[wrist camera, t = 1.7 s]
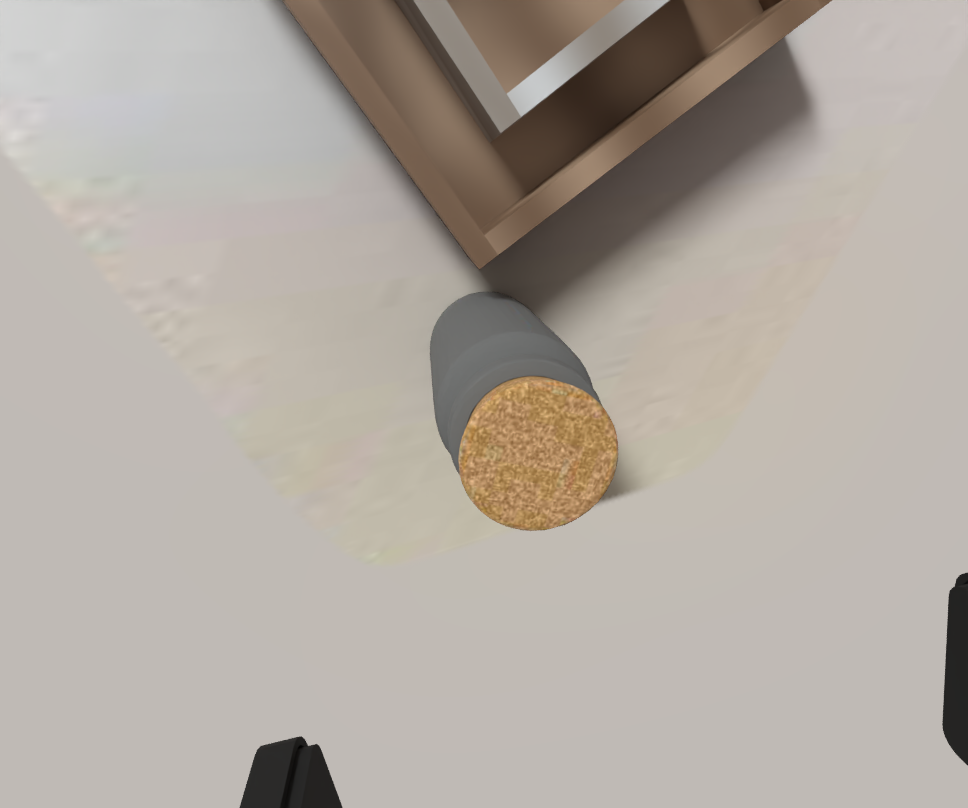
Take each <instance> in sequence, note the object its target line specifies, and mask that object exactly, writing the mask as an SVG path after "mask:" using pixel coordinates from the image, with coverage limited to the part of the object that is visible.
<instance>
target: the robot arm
mask: <svg viewBox="0 0 968 808" xmlns="http://www.w3.org/2000/svg"><path fill="white" fill-rule="evenodd" d="M943 731H944V734H945V737H946V739H947V741H948V743H949V745H950V746H951V748H952V749H953V751H954V752H955V753H956V754H957V755H958V756H959V757H960V758H961V759H962V760H963V761H964V762H965V763H966V764H967V765H968V573H965V574H961V575H960V576H959V577H958V578H957V579H956V584H955V587H953V588H952V589H951V590H950V593H949V604H948V625H947V644H946V666H945V685H944V705H943ZM240 808H342V805H341V802H340V800H339V797H338V794H337V791H336V789H335V786H334V784H333V781H332V778H331V775H330V773H329V770H328V767H327V764H326V762H325V759H324V757H323V754H322V751H321V749H320V747H319V745H317V744H315V745H311V746H308V745H307V743H306V741H305V739H304V738H303V737H296V738H292V739H288V740H283V741H280V742H275V743H271V744H268V745H263V746H261V747H260V748H259V749H258V750H257V752H256V754H255V757H254V760H253V764H252V767H251V771H250V774H249V777H248V781H247V784H246V788H245V791H244V795H243V798H242V802H241V805H240Z"/></svg>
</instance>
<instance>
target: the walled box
mask: <svg viewBox="0 0 968 808" xmlns="http://www.w3.org/2000/svg"><path fill="white" fill-rule="evenodd" d="M282 1H283V3H284V4H285V5H286V7H287V8H288V9H289V11H290V12H291V14H292V15H293V16H294V18H295V19H296V20H297V22H298V23H299V25H300V26H301V27H302V29H303V30H304V31H305V33H306V34H307V36H308V37H309V38H310V40H311V41H312V42H313V44H314V45H315V47H316V48H317V49H318V51H319V52H320V53H321V55H322V56H323V58H324V59H325V60H326V62H327V63H328V64H329V66H330V67H331V69H332V70H333V71H334V73H335V74H336V75H337V77H338V78H339V80H340V81H341V82H342V84H343V85H344V86H345V88H346V89H347V91H348V92H349V93H350V95H351V96H352V97H353V99H354V100H355V102H356V103H357V104H358V106H359V107H360V109H361V110H362V111H363V113H364V114H365V115H366V117H367V118H368V120H369V121H370V122H371V124H372V125H373V126H374V128H375V129H376V131H377V132H378V133H379V135H380V136H381V137H382V139H383V140H384V142H385V143H386V144H387V146H388V147H389V148H390V150H391V151H392V153H393V154H394V155H395V157H396V158H397V159H398V161H399V162H400V164H401V165H402V166H403V168H404V169H405V170H406V172H407V173H408V175H409V176H410V177H411V179H412V180H413V181H414V183H415V184H416V186H417V187H418V188H419V190H420V191H421V192H422V194H423V195H424V197H425V198H426V199H427V201H428V202H429V203H430V205H431V206H432V208H433V209H434V210H435V212H436V213H437V214H438V216H439V217H440V219H441V220H442V221H443V223H444V224H445V225H446V227H447V228H448V230H449V231H450V232H451V234H452V235H453V237H454V238H455V239H456V241H457V242H458V243H459V245H460V246H461V248H462V249H463V250H464V252H465V253H466V254H467V256H468V257H469V259H470V260H471V261H472V262H473V263H474V264H475V265H476V266H477V267H478V268H479V269H481V268H482V267H483V266H485V265H486V264H487V263H488V262H490V261H491V260H492V259H494V258H495V257H496V256H498V255H499V254H500V253H502V252H503V251H504V250H506V249H507V248H508V247H509V246H511V245H512V244H513V243H515V242H516V241H517V240H519V239H520V238H521V237H523V236H524V235H525V234H526V233H528V232H529V231H530V230H532V229H533V228H534V227H536V226H537V225H538V224H540V223H541V222H542V221H544V220H545V219H546V218H547V217H549V216H550V215H551V214H553V213H554V212H555V211H557V210H558V209H559V208H561V207H562V206H563V205H564V204H566V203H567V202H568V201H570V200H571V199H572V198H574V197H575V196H576V195H578V194H579V193H580V192H582V191H583V190H584V189H585V188H587V187H588V186H589V185H591V184H592V183H593V182H595V181H596V180H597V179H599V178H600V177H601V176H603V175H604V174H605V173H606V172H608V171H609V170H610V169H612V168H613V167H614V166H616V165H617V164H618V163H620V162H621V161H622V160H623V159H625V158H626V157H627V156H629V155H630V154H631V153H633V152H634V151H635V150H637V149H638V148H639V147H641V146H642V145H643V144H644V143H646V142H647V141H648V140H650V139H651V138H652V137H654V136H655V135H656V134H658V133H659V132H660V131H661V130H663V129H664V128H665V127H667V126H668V125H669V124H671V123H672V122H673V121H675V120H676V119H677V118H679V117H680V116H681V115H682V114H684V113H685V112H686V111H688V110H689V109H690V108H692V107H693V106H694V105H696V104H697V103H698V102H700V101H701V100H702V99H703V98H705V97H706V96H707V95H709V94H710V93H711V92H713V91H714V90H715V89H717V88H718V87H719V86H720V85H722V84H723V83H724V82H726V81H727V80H728V79H730V78H731V77H732V76H734V75H735V74H736V73H738V72H739V71H740V70H741V69H743V68H744V67H745V66H747V65H748V64H749V63H751V62H752V61H753V60H755V59H756V58H757V57H758V56H760V55H761V54H762V53H764V52H765V51H766V50H768V49H769V48H770V47H772V46H773V45H774V44H776V43H777V42H778V41H779V40H781V39H782V38H783V37H785V36H786V35H787V34H789V33H790V32H791V31H793V30H794V29H795V28H796V27H798V26H799V25H800V24H802V23H803V22H804V21H806V20H807V19H808V18H810V17H811V16H812V15H814V14H815V13H816V12H817V11H819V10H820V9H821V8H823V7H824V6H825V5H827V4H828V3H829V2H831V1H832V0H282Z"/></svg>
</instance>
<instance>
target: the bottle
mask: <svg viewBox="0 0 968 808" xmlns="http://www.w3.org/2000/svg"><path fill="white" fill-rule="evenodd" d="M430 360H431V373H432V387H433V400H434V410H435V418H436V423H437V427H438V431H439V434H440V437H441V439H442V442H443V444H444V445H445V447H446V449H447V450H448V452H449V453H450V454H451V457H452V460H453V463H454V465H455V467H456V470H457V472H458V473H459V475H460V477H461V481H462V484H463V486H464V488H465V491H466V493H467V494H468V496H469V498H470V499H471V501H472V502H473V503H474V504H475V505H476V506H477V508H478V509H479V510H480V511H481V512H483V513H484V514H485V515H487V516H488V517H489V518H491V519H492V520H494V521H496V522H498V523H500V524H502V525H505V526H507V527H511V528H515V529H520V530H530V531H533V530H547V529H551V528H554V527H558V526H562V525H565V524H567V523H569V522H572V521H574V520H575V519H577V518H579V517H580V516H582V515H583V514H584V513H586V512H587V511H589V510H590V509H591V508H592V507H593V506H594V505H595V504H596V503H597V502H598V501H599V500H600V498H601V497H602V496H603V495H604V493H605V492H606V490H607V489H608V487H609V485H610V483H611V481H612V479H613V476H614V473H615V469H616V466H617V459H618V441H617V435H616V431H615V428H614V425H613V423H612V421H611V419H610V417H609V416H608V414H607V412H606V411H605V409H604V408H603V407H602V404H601V402H600V400H599V398H598V396H597V394H596V392H595V391H594V389H593V387H592V383H591V380H590V377H589V375H588V373H587V371H586V369H585V367H584V366H583V364H582V362H581V361H580V359H579V358H578V357H577V356H576V355H575V354H574V353H573V351H572V350H571V349H570V348H569V347H568V346H567V345H566V344H565V343H564V342H563V341H562V340H561V339H560V338H559V337H558V336H557V335H556V334H555V333H554V332H552V331H551V330H550V329H549V328H548V327H547V326H546V325H545V324H544V323H543V322H542V321H541V320H540V319H539V318H538V317H536V316H535V315H534V314H533V313H532V312H531V311H530V310H529V309H528V308H527V307H525V306H524V305H523V304H522V303H520V302H519V301H517V300H515V299H514V298H512V297H509V296H507V295H504V294H501V293H496V292H478V293H473V294H469V295H467V296H464V297H462V298H460V299H458V300H457V301H455V302H454V303H452V304H451V305H450V306H449V307H448V308H447V309H446V310H445V311H444V312H443V313H442V315H441V316H440V318H439V319H438V321H437V323H436V325H435V327H434V330H433V333H432V337H431V343H430Z"/></svg>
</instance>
